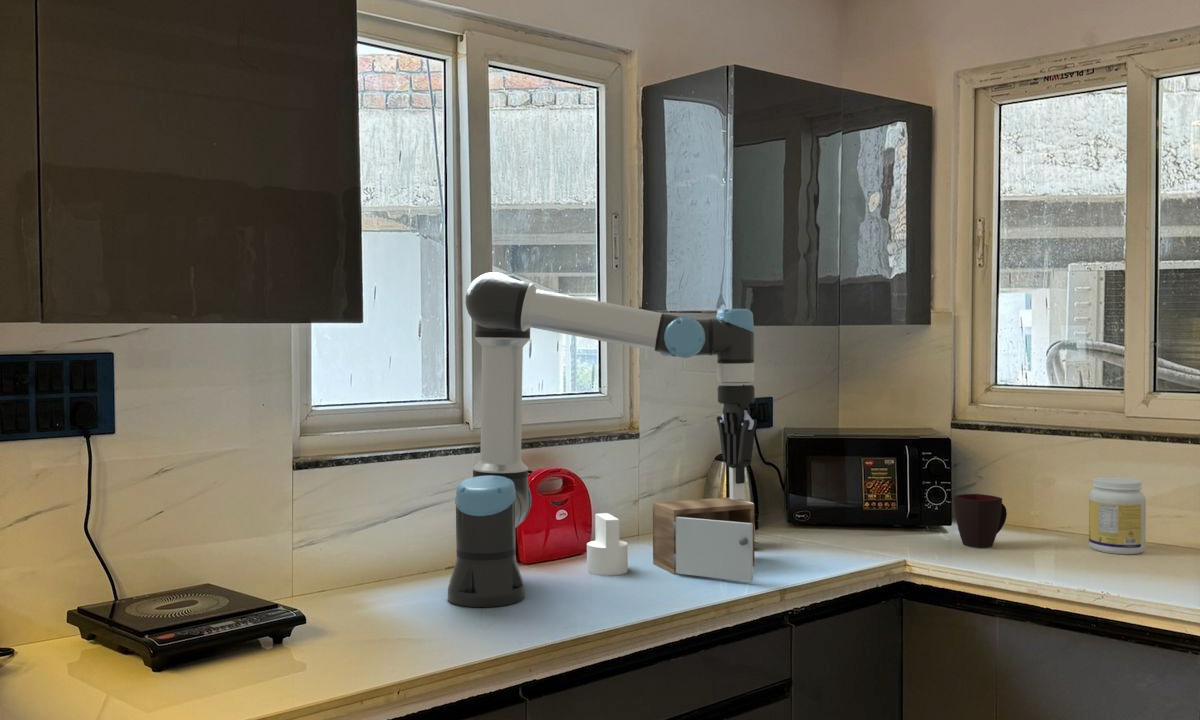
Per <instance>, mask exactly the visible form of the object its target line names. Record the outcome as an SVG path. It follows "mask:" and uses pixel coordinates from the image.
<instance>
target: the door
mask: <svg viewBox="0 0 1200 720" xmlns="http://www.w3.org/2000/svg"><path fill="white" fill-rule="evenodd" d="M673 536H675V537H676V554H673V568H674V569H676V573H679V574H678V575H680V574H681V575H689V576H695V577H696V576H698V577H706V578H714V579H715V578H716V579H724V580H730V581H731V580H733V581H739V582H741V581H742V582H750V583H751V582H753V581H754V580H753V579H754V578H753V577H754V574H753V573H754V571H753V569H754V567H753V523H743V522H732V521H720V520H709V519H697V518H686V517H676V522H673Z"/></svg>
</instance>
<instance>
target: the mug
mask: <svg viewBox="0 0 1200 720" xmlns="http://www.w3.org/2000/svg"><path fill="white" fill-rule="evenodd" d="M953 506H954V508H953V509H954V515H955V520H956V524H957V530H958V533H959V536H960V539H961V542H962V545H963V546H965V547H969V548H974V549H975V548H976V549H988V548H992V547H993V545H994V544H995V540H996V538H997V535H998V534H999V532H1000V531H1001V530H1002V528H1003V527H1004V525H1005V522H1006V520H1007V515H1008V513H1007V508H1006V506H1005V505H1004V503H1003V498H1002V497H999V496H997V495H996V496H995V495H988V494H981V493H967V494H965V493H964V494H956V495H954V496H953Z"/></svg>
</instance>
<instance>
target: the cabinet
mask: <svg viewBox="0 0 1200 720" xmlns="http://www.w3.org/2000/svg"><path fill="white" fill-rule="evenodd" d="M749 502H750V501H746V502H745V501H744V500H743V499H737V500H732V499H730V496H729V497H715V498H702V499H687V500H673V501H657V502H655V501H654V502H652V565H654V566H656V567H658V568H660V569H662V570H665V571H667V572H668V573H670V574H672V575H680V574H679V573H676V569H674V568H673V554H676V537H675V536H673V522H676V517H686V518H697V519H709V520H720V521H732V522H743V523H753V568H754V567H755V565H756V564H755V562H756V561H755V557H756V556H755V551H756V550H755V548H756V547H755V542H756V541H755V536H754V524H755V503H753V502H751V503H749ZM752 503H753V504H752Z"/></svg>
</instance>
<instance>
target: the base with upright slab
mask: <svg viewBox="0 0 1200 720" xmlns="http://www.w3.org/2000/svg"><path fill="white" fill-rule="evenodd" d="M594 515H595V517H594V518H595V519H594V520H595V525H594V529H595V530H594V531H595V535H594V537H595V539H594V540H591V541H589V542H587V543H586V571H587V573H589V574H590V575H596V576H617V575H624V574H626V573H628V571H629V569H628V568H629V567H628V562H629V561H628V557H629V555H628V553H629V552H628V551H629V549H628V546H629V545H628V542H627V541H624V540H620V519H619V518H617V517H615V516H614V515H612V514H610V513H609V512H602V513H601V512H600V513H595V514H594Z"/></svg>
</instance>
